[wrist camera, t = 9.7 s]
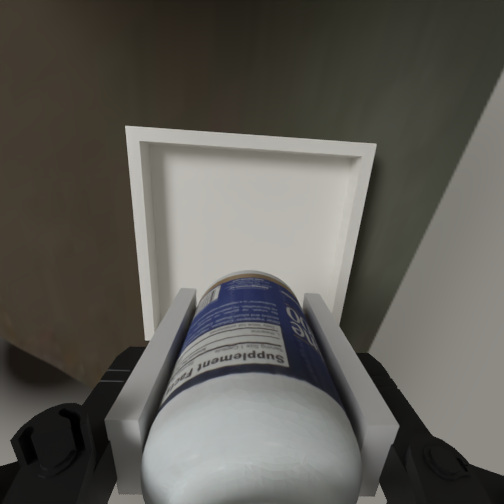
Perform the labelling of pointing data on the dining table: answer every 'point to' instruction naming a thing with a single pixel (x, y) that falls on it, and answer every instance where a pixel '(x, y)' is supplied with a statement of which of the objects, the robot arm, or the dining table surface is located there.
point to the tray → (244, 212)
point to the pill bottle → (250, 407)
